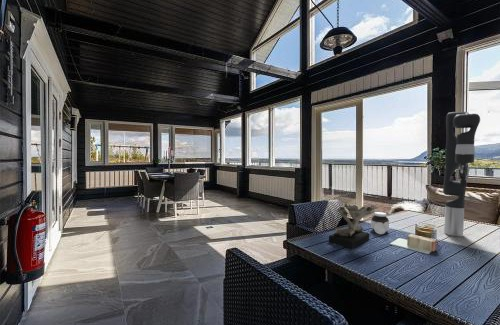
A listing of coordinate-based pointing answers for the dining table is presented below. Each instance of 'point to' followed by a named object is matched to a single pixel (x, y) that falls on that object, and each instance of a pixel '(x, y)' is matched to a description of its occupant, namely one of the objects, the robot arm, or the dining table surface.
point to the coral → (351, 227)
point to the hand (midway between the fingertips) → (463, 187)
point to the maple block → (422, 242)
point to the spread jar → (380, 222)
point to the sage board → (403, 244)
